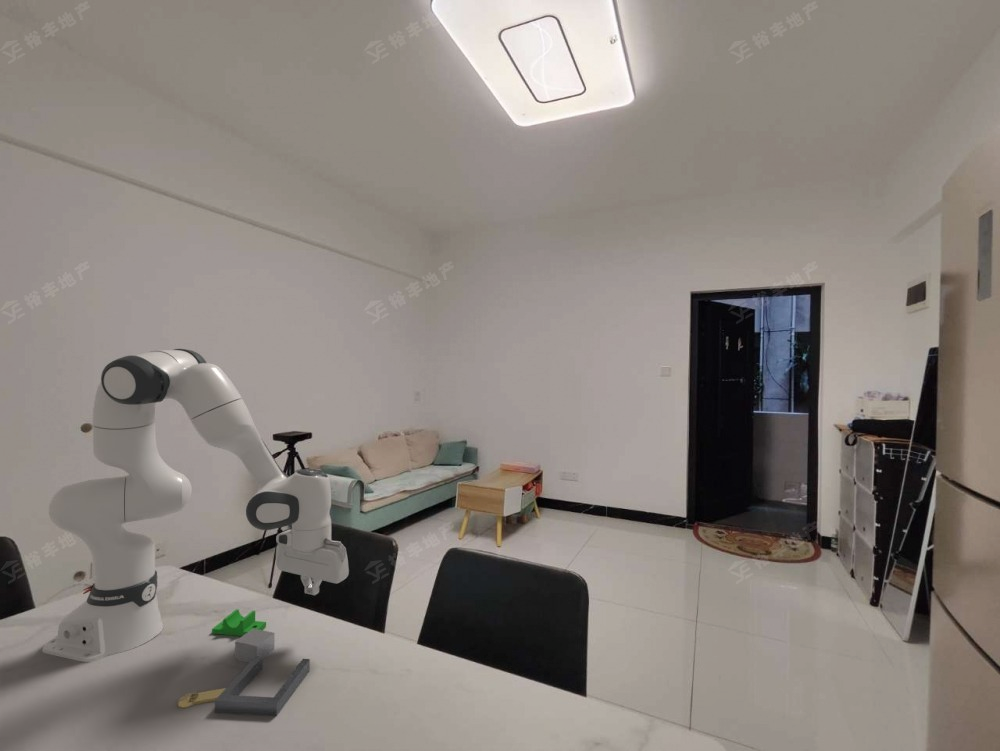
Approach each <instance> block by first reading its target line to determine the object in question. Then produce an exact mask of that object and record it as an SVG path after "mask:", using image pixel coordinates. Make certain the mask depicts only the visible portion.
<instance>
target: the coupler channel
mask: <svg viewBox="0 0 1000 751" xmlns="http://www.w3.org/2000/svg"><path fill="white" fill-rule="evenodd" d="M310 660H311V659H310V658H302V659H301V661H300V662H299V663H298V665H297V666H296V667H295V668H294V670H293V671H292V673H291V674H290V675H289V676H288V677H287V679H286V680H285V681H284V683H283V685H281V687H280V689H279V690H278V691H277V692H276V693H275V695H274V696H272V697H271V696H253V695H241V693H242V692H244V690H245V689H246V688H247V686H249V685H250V684H251V682H252V681H253V680H254V679H255V678H256V677H257V676H258V674H259V673H260V672H261V671H262V670H263V660H262V657H255V658H254V659H253V660H252V661H251V662H250V663H249V662H248V664H247V665H246V666H245V667H244V668H243V669H242V671H240V673H238V675H237V676H236V677H235V678H234V679H233V680H232V681H231V682H230V683H229V684H228V686H227V687H225V688H226V689H225V690H224V691H223V692H222V693H221V694H220V695H219V696H218V698H217V699H216V700H215V701H214V714H227V715H229V714H230V715H249V716H264V717H265V716H266V715H267V716H268V717H269V716H270V717H278V715H279V714H280V712H281V711H282V710H283V708H284V707H285V706H286V704H288V702H289V700H290V699H291V697H292V696H293V694H294V693H295V692H296V690H298V688H299V687H300V685H301V684H302V682H303V681H304V680H305V679H306V677H307V675H308V674H309V673H310V668H311V667H310V665H311V664H310V663H311V662H310Z"/></svg>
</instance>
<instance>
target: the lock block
mask: <svg viewBox="0 0 1000 751" xmlns="http://www.w3.org/2000/svg"><path fill="white" fill-rule="evenodd" d="M274 651H275V632H273V631H266V630H264V629H263V630H258V629H254V628H253V629H252V630H250V631H249V632H248V633H246V634H245V635H243V636H239V638H237V639H236V640H235V641H234V660H236V661H241V662H245V663H248V664H249V663H250V662H251V661H252V660H253V659H254V658H255V657H262V661H263V660H265V659H266V658H267V657H269V655H271V654H272V653H273V652H274Z"/></svg>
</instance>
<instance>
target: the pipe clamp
mask: <svg viewBox="0 0 1000 751" xmlns="http://www.w3.org/2000/svg"><path fill="white" fill-rule="evenodd" d="M266 627H267V621H259V620H256V610H251V611H250V612H249V613H248V614H247V615H246V616H243V614H241V612H240V609H238V608H237V609H235V610H234V611H232V612H231V613H229V614H228V615H227V616H225V617H224V618H223V619H222V621H221V622H219V623H218V624H216V625H215V626H214V627H212V628H211V634H214V635H227V636H237V637H238V636H239V637H242V636H243V635H245V634H246V633H248V632H249V631H250V630H252V629H253V628H254V629H258V630H263V631H264V629H265V628H266Z"/></svg>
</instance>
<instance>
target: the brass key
mask: <svg viewBox="0 0 1000 751" xmlns="http://www.w3.org/2000/svg"><path fill="white" fill-rule="evenodd" d="M226 688H227V687H223V688H219V689H218V688H217V689H211V690H207V691H202V692H194V691H193V692H190V693H189V692H188V693H186V694H184V695H183V696H181V697H180V698H179V699H178V703H177V706H178V708H180V709H185V708H189V707H191V706H195V705H200V704H206V703H210V702H215V700H216V699H217V698H218V696H219V695H220V694H221V693H222V692H223V691H224V690H225V689H226Z"/></svg>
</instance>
